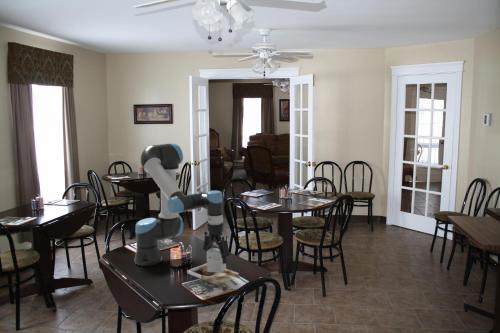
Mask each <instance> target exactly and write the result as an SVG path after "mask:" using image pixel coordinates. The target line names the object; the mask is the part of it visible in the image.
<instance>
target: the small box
mask: <svg viewBox="0 0 500 333" xmlns="http://www.w3.org/2000/svg"><path fill="white" fill-rule="evenodd" d="M221 257H222V256H221V253H220V250H219V247H218V248H217V247H216V248H215V247H212V248H210V249H209V250H208V251H207V257H206V263H207V272H214V273H223V272H224V270H221Z"/></svg>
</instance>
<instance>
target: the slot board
mask: <svg viewBox="0 0 500 333" xmlns="http://www.w3.org/2000/svg"><path fill="white" fill-rule="evenodd" d="M238 277H240V273H239V272H237V271H234V270H230V269H227V268H226V269H225V270H224V272H223V273H216V272H214V273H213V274H210V275H205V274H202V276H201V280H203V281H206V282H208V283H211V284H214V285H216V286H220V285H222V284H224V283H227V282H229V281H232V280H234V279H236V278H238Z"/></svg>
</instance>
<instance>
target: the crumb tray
mask: <svg viewBox="0 0 500 333" xmlns="http://www.w3.org/2000/svg"><path fill="white" fill-rule="evenodd" d="M205 265H206V266H207V262H206V263H204V264H202V265H199V266H196V267H193V268H190V269H188V270H186V273H187V274H188V275H191V276H193V277H196V278H198V279H201V276H202V275H203V274H202V275H201V274H200V273H197V271H199V267H202V266H205ZM201 280H202V279H201Z"/></svg>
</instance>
